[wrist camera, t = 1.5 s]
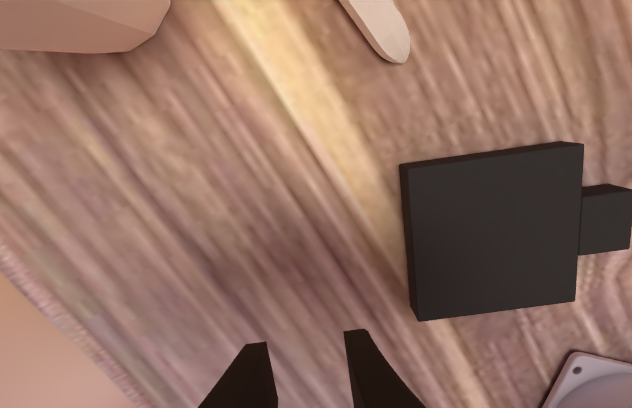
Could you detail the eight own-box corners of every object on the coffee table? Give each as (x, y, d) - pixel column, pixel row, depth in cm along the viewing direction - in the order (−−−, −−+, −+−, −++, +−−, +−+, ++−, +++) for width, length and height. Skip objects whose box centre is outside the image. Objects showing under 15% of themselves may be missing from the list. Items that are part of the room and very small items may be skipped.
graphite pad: (410, 306, 19) (418, 322, 18) (398, 164, 17) (406, 168, 16) (601, 281, 19) (625, 295, 17) (612, 133, 17) (641, 135, 15)
